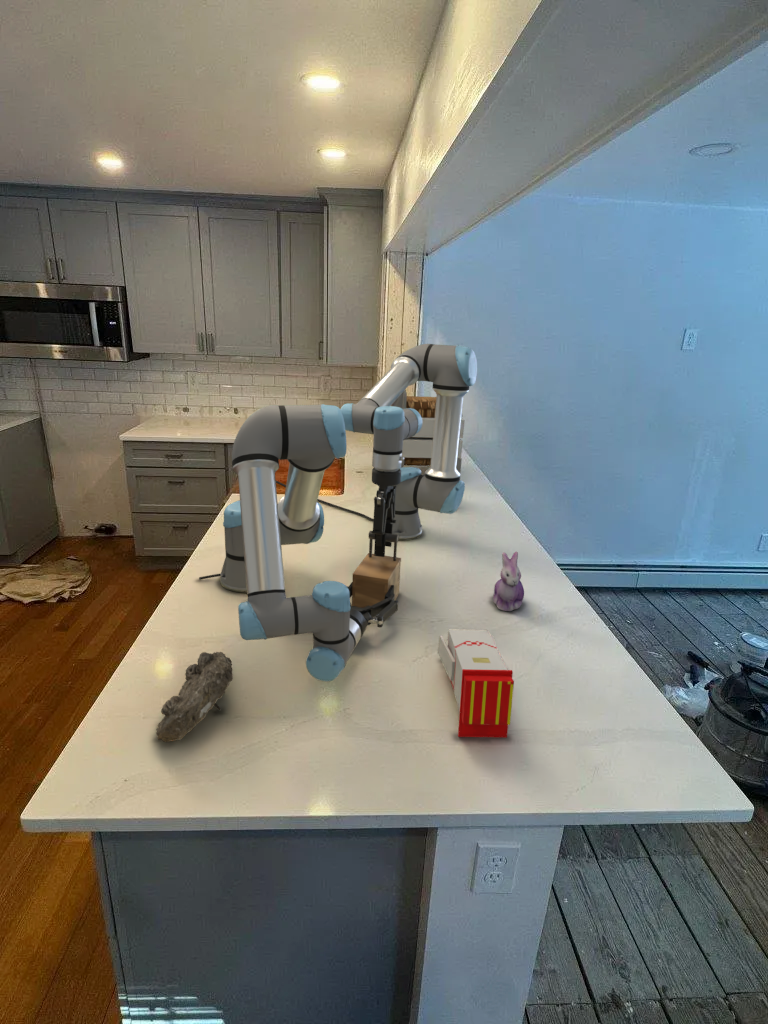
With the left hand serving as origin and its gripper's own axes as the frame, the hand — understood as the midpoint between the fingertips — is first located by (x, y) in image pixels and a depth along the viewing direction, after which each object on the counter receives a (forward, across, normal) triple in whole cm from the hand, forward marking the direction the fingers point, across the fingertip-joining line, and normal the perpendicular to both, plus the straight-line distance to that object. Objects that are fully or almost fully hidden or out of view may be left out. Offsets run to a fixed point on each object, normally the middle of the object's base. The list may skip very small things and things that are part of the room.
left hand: (373, 586), depth 148 cm
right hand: (+8, 0, +7) cm, 11 cm away
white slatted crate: (+133, -15, -6) cm, 134 cm away
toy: (-27, +29, -6) cm, 40 cm away
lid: (+3, 0, +4) cm, 5 cm away
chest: (+3, 0, -6) cm, 7 cm away
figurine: (+14, +34, -6) cm, 38 cm away
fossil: (-49, -20, -6) cm, 53 cm away
